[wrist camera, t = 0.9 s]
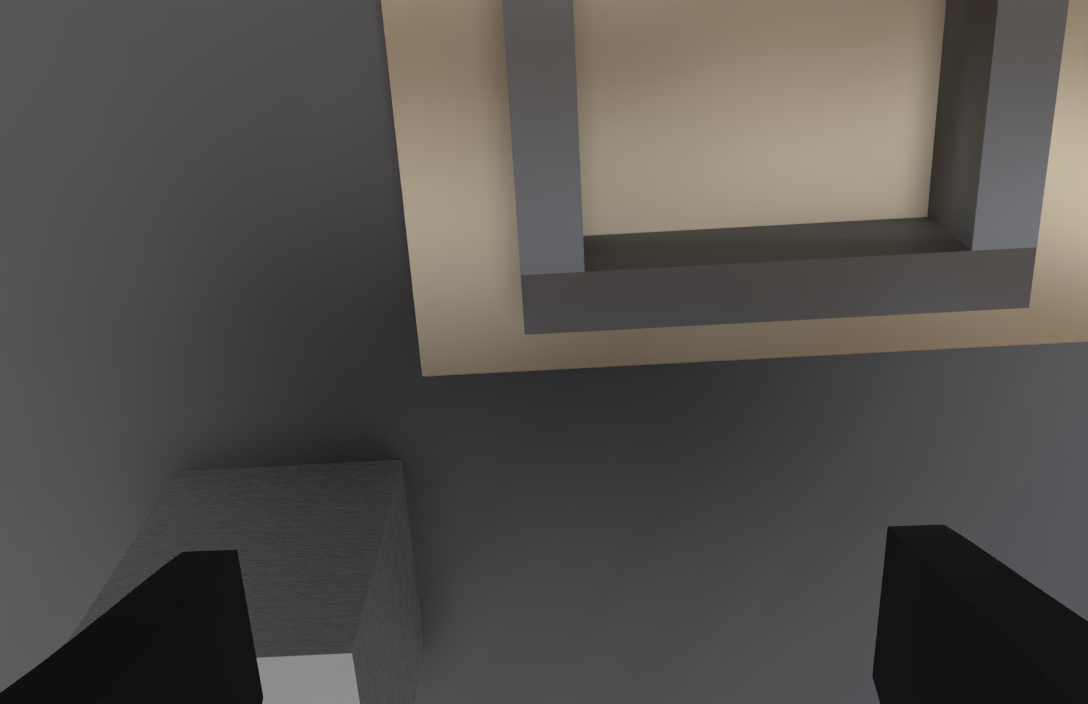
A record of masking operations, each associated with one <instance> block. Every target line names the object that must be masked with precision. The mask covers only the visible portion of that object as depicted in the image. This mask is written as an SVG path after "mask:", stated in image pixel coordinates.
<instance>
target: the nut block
mask: <svg viewBox="0 0 1088 704" xmlns="http://www.w3.org/2000/svg"><path fill="white" fill-rule="evenodd" d="M215 550H237V551H238V557H239V563H240V568H241V574H242V580H243V585H244V591H245V596H246V602H247V608H248V613H249V619H250V624H251V630H252V636H253V641H254V647H255V653H256V658H257V664H258V669H259V675H260V681H261V686H262V692H263V702H262V704H414V702H415V696H416V689H417V683H418V677H419V671H420V664H421V658H422V652H423V646H424V637H423V629H422V621H421V613H420V605H419V597H418V588H417V580H416V572H415V564H414V556H413V548H412V540H411V531H410V523H409V515H408V507H407V499H406V491H405V482H404V474H403V466H402V460H383V461H364V462H345V463H325V464H306V465H287V466H267V467H248V468H229V469H209V470H190V471H179V473H178V474H177V476H176V477H175V479H174V480H173V482H172V483H171V485H170V486H169V488H168V490H167V491H166V493H165V494H164V496H163V497H162V499H161V500H160V502H159V503H158V505H157V506H156V508H155V509H154V511H153V512H152V514H151V516H150V517H149V519H148V520H147V522H146V523H145V525H144V526H143V528H142V529H141V531H140V532H139V534H138V535H137V537H136V538H135V540H134V541H133V543H132V545H131V546H130V548H129V549H128V551H127V552H126V554H125V555H124V557H123V558H122V560H121V561H120V563H119V564H118V566H117V567H116V569H115V571H114V572H113V574H112V575H111V577H110V578H109V580H108V581H107V583H106V584H105V586H104V587H103V589H102V590H101V592H100V593H99V595H98V597H97V598H96V600H95V601H94V603H93V604H92V606H91V607H90V609H89V610H88V612H87V613H86V615H85V616H84V618H83V619H82V621H81V622H80V624H79V626H78V627H77V629H76V630H75V632H74V633H73V635H72V636H71V638H70V639H69V641H70V640H71V639H72V638H74V637H75V636H76V635H77V634H79V633H80V632H81V631H83V630H84V629H85V628H86V627H88V626H89V625H90V624H91V623H93V622H94V621H95V620H96V619H98V618H99V617H100V616H101V615H103V614H104V613H105V612H106V611H108V610H109V609H110V608H111V607H113V606H114V605H115V604H116V603H117V602H119V601H120V600H121V599H122V598H124V597H125V596H126V595H127V594H129V593H130V592H131V591H132V590H133V589H135V588H136V587H137V586H138V585H140V584H141V583H142V582H143V581H145V580H146V579H147V578H148V577H150V576H151V575H152V574H153V573H155V572H156V571H157V570H158V569H160V568H161V567H162V566H164V565H165V564H166V563H168V562H169V561H170V560H172V559H173V558H175V557H176V556H177V555H179V554H180V553H182V552H187V551H215ZM69 641H68V642H69Z"/></svg>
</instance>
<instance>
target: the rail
mask: <svg viewBox="0 0 1088 704" xmlns="http://www.w3.org/2000/svg"><path fill="white" fill-rule="evenodd" d="M381 5H382V14H383V23H384V33H385V42H386V51H387V60H388V69H389V78H390V87H391V96H392V105H393V115H394V124H395V133H396V142H397V151H398V160H399V169H400V178H401V187H402V197H403V206H404V215H405V224H406V233H407V242H408V251H409V260H410V269H411V279H412V288H413V297H414V306H415V315H416V324H417V333H418V342H419V351H420V361H421V370H422V377H423V376H442V375H461V374H480V373H499V372H518V371H537V370H556V369H575V368H594V367H613V366H632V365H651V364H670V363H689V362H708V361H727V360H746V359H765V358H784V357H803V356H822V355H841V354H860V353H879V352H898V351H917V350H936V349H955V348H974V347H993V346H1012V345H1031V344H1049V343H1068V342H1087V341H1088V0H381Z"/></svg>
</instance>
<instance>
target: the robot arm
mask: <svg viewBox="0 0 1088 704" xmlns="http://www.w3.org/2000/svg"><path fill="white" fill-rule="evenodd" d="M872 677H873V680H874V684H875V687H876V690H877V694H878V697H879V700H880V704H1088V621H1086V620H1085V619H1083V618H1082V617H1080V616H1079V615H1077V614H1076V613H1074V612H1073V611H1071V610H1070V609H1068V608H1067V607H1065V606H1064V605H1062V604H1061V603H1059V602H1058V601H1056V600H1055V599H1054V598H1052V597H1051V596H1049V595H1048V594H1046V593H1045V592H1043V591H1042V590H1040V589H1039V588H1037V587H1036V586H1035V585H1033V584H1032V583H1030V582H1029V581H1027V580H1026V579H1024V578H1023V577H1022V576H1020V575H1019V574H1017V573H1016V572H1014V571H1013V570H1011V569H1010V568H1009V567H1007V566H1006V565H1004V564H1003V563H1001V562H1000V561H998V560H997V559H996V558H994V557H993V556H991V555H990V554H988V553H987V552H985V551H984V550H982V549H981V548H979V547H978V546H977V545H975V544H974V543H972V542H971V541H969V540H968V539H966V538H964V537H963V536H961V535H960V534H958V533H957V532H955V531H953V530H952V529H950V528H948V527H947V526H945V525H920V526H891V527H888V530H887V540H886V549H885V559H884V569H883V579H882V588H881V598H880V608H879V618H878V627H877V637H876V647H875V656H874V666H873V676H872ZM262 702H263V692H262V686H261V681H260V675H259V669H258V664H257V658H256V653H255V647H254V641H253V636H252V630H251V624H250V619H249V613H248V608H247V602H246V596H245V591H244V585H243V580H242V574H241V568H240V563H239V557H238V551H237V550H215V551H187V552H182V553H180V554H179V555H177V556H176V557H175V558H173V559H172V560H170V561H169V562H168V563H166V564H165V565H164V566H162V567H161V568H160V569H158V570H157V571H156V572H155V573H153V574H152V575H151V576H150V577H148V578H147V579H146V580H145V581H143V582H142V583H141V584H140V585H138V586H137V587H136V588H135V589H133V590H132V591H131V592H130V593H129V594H127V595H126V596H125V597H124V598H122V599H121V600H120V601H119V602H117V603H116V604H115V605H114V606H113V607H111V608H110V609H109V610H108V611H106V612H105V613H104V614H103V615H101V616H100V617H99V618H98V619H96V620H95V621H94V622H93V623H91V624H90V625H89V626H88V627H86V628H85V629H84V630H83V631H81V632H80V633H79V634H77V635H76V636H75V637H74V638H72V639H71V640H70V641H69V642H67V643H66V644H65V645H64V646H62V647H61V648H60V649H59V650H57V651H56V652H55V653H54V654H52V655H51V656H50V657H49V658H47V659H46V660H45V661H43V662H42V663H41V664H39V665H38V666H36V667H35V668H34V669H32V670H31V671H30V672H28V673H27V674H26V675H24V676H23V677H21V678H20V679H19V680H17V681H16V682H15V683H13V684H12V685H11V686H9V687H8V688H6V689H5V690H4V691H2V692H1V693H0V704H262Z"/></svg>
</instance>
